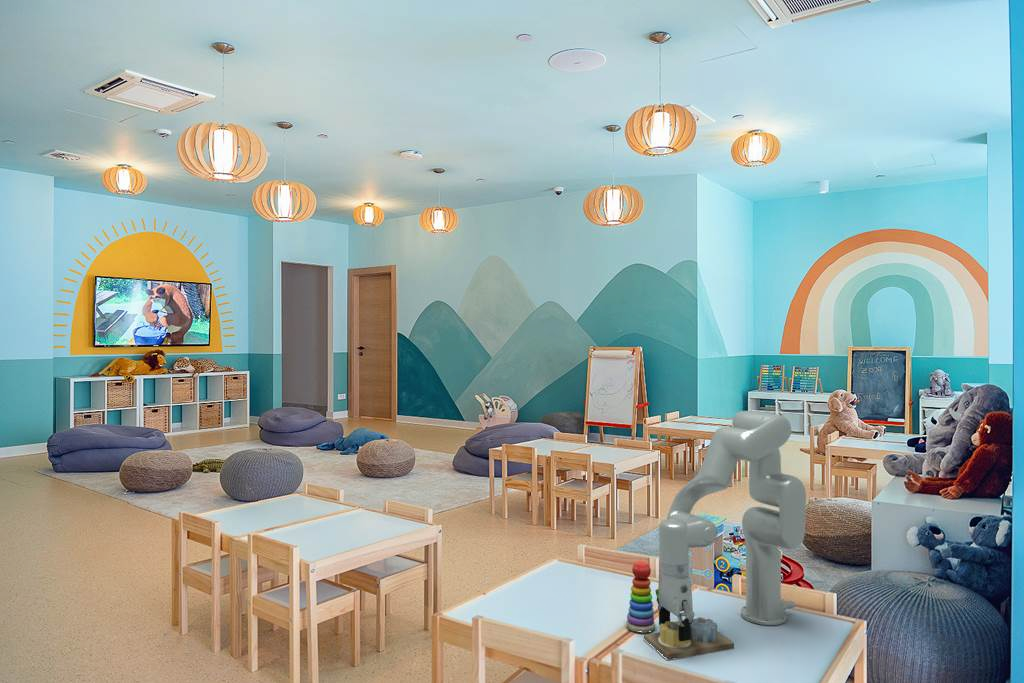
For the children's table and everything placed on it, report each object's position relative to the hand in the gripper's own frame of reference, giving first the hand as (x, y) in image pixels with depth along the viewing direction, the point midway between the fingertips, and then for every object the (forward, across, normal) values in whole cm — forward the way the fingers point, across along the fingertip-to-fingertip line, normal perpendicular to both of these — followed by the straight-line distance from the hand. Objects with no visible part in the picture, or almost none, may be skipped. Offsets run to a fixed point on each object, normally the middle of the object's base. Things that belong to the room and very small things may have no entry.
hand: (674, 632), depth 183 cm
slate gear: (+2, 0, -8) cm, 9 cm away
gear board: (+4, 0, -4) cm, 6 cm away
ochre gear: (+2, 0, 0) cm, 2 cm away
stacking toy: (+4, +13, +3) cm, 14 cm away
